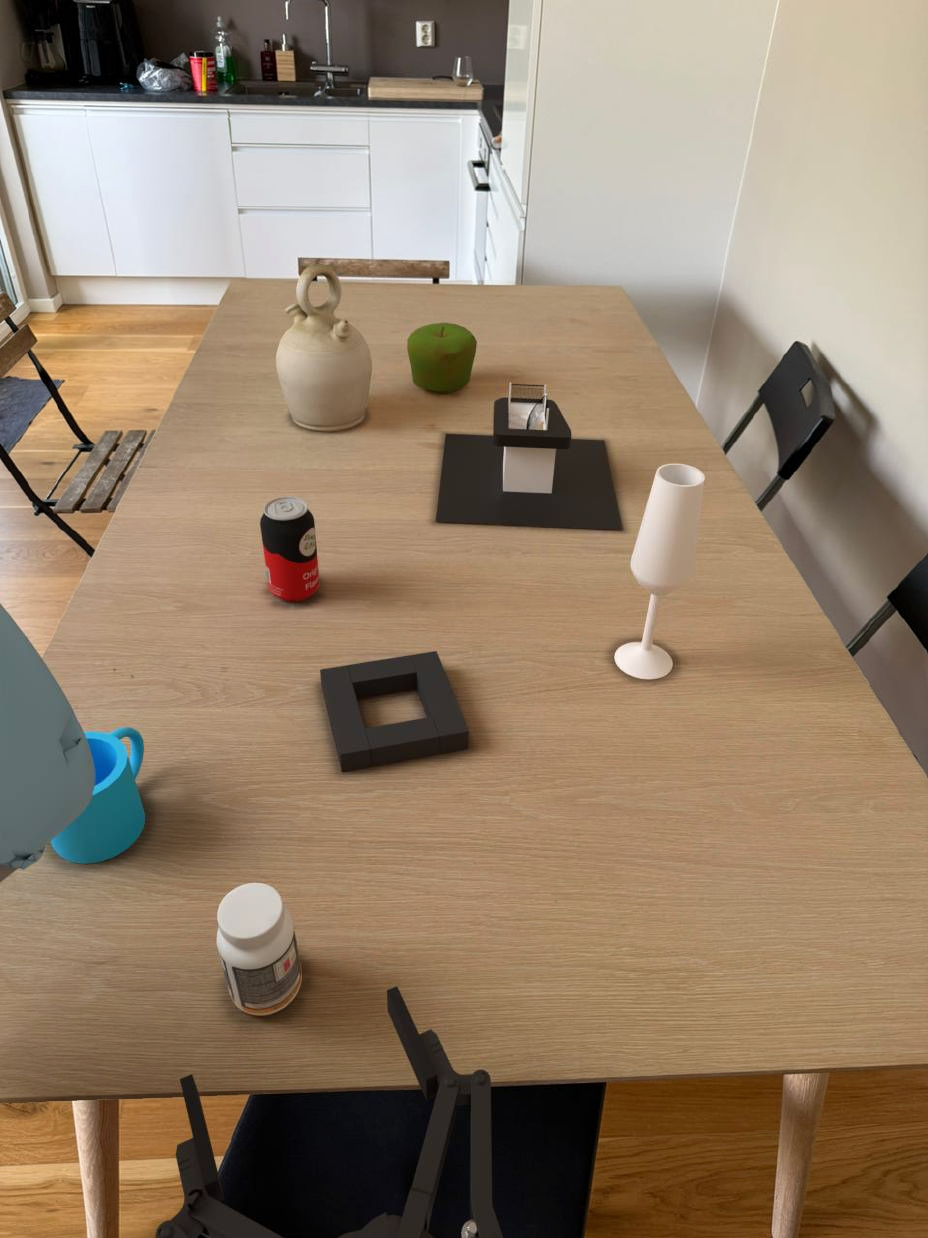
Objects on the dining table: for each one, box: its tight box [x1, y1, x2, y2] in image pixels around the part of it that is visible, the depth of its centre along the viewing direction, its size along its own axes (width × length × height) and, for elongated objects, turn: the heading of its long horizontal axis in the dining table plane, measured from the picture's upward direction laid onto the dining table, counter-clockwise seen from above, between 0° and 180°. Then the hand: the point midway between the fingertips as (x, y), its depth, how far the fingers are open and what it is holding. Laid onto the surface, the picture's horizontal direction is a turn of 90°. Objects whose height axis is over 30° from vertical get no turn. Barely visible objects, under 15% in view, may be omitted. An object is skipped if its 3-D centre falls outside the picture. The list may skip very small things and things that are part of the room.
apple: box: [406, 322, 478, 396], centre depth 159 cm, size 12×12×11 cm
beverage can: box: [259, 496, 321, 603], centre depth 108 cm, size 6×6×12 cm
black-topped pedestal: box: [435, 382, 623, 531], centre depth 132 cm, size 28×26×13 cm
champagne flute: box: [614, 463, 706, 680], centre depth 95 cm, size 7×7×24 cm
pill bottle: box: [216, 882, 303, 1016], centre depth 67 cm, size 6×6×10 cm
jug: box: [275, 263, 373, 433], centre depth 143 cm, size 15×16×25 cm
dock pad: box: [319, 650, 470, 773], centre depth 93 cm, size 13×13×2 cm
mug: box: [50, 726, 146, 865], centre depth 80 cm, size 12×8×8 cm
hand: (295, 1040), depth 58 cm, fingers open, 13 cm apart
